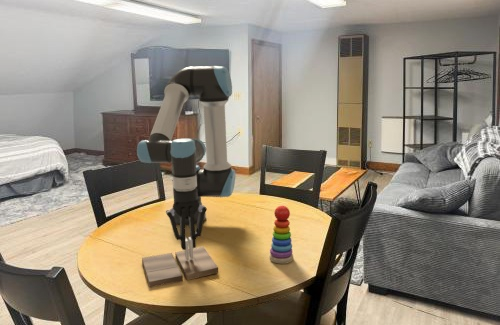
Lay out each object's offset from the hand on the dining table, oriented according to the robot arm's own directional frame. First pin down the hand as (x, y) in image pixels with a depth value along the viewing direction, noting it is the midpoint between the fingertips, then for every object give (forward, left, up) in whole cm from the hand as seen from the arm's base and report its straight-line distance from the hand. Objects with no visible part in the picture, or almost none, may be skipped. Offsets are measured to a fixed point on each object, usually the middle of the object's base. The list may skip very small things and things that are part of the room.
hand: (189, 257), depth 137 cm
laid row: (-5, -8, -3) cm, 10 cm away
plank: (+1, +2, -3) cm, 3 cm away
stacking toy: (+23, +20, -3) cm, 31 cm away
